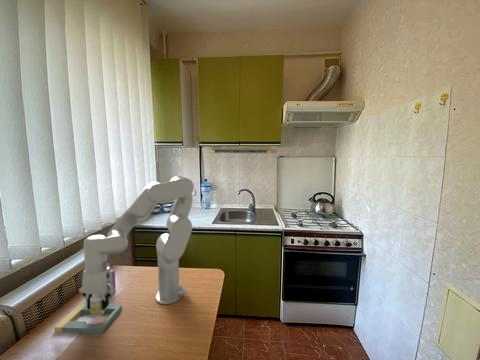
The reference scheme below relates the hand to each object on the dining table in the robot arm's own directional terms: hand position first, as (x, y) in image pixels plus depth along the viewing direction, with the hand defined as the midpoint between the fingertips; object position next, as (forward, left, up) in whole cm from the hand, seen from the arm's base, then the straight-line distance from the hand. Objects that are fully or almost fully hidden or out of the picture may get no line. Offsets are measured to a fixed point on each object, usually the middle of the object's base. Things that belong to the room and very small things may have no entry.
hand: (98, 306), depth 87 cm
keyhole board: (+4, 0, -6) cm, 7 cm away
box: (+10, -17, -6) cm, 21 cm away
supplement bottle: (0, 0, -3) cm, 3 cm away
